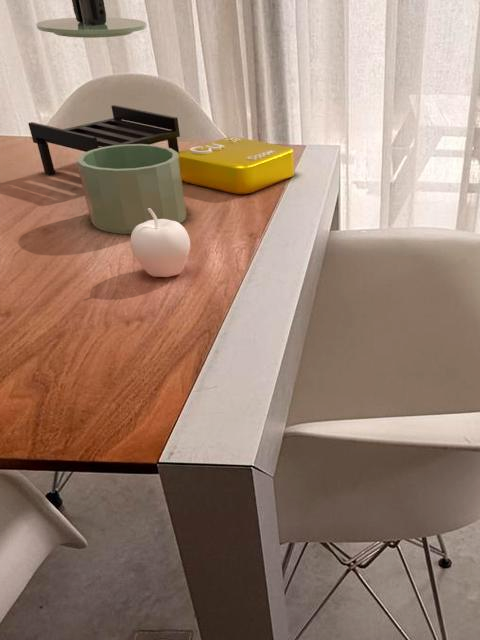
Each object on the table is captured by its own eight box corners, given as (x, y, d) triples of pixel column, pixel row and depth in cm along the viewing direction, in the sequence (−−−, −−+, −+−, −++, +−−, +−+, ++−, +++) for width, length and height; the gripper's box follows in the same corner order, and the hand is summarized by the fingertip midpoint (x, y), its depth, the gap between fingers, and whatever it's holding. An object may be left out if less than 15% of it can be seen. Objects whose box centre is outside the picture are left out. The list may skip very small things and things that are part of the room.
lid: (84, 42, 89) (73, -10, 85) (15, 32, 95) (3, -18, 92) (169, 32, 99) (162, -16, 95) (101, 23, 105) (93, -22, 101)
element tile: (244, 196, 110) (242, 165, 107) (175, 180, 116) (171, 150, 113) (299, 174, 120) (298, 145, 117) (233, 161, 126) (230, 132, 122)
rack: (103, 191, 110) (92, 137, 105) (41, 174, 117) (27, 122, 112) (184, 167, 122) (177, 117, 117) (123, 152, 129) (114, 104, 124)
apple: (126, 270, 86) (113, 205, 81) (177, 257, 90) (167, 194, 85) (152, 288, 82) (139, 221, 77) (204, 274, 86) (195, 209, 81)
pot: (136, 241, 94) (123, 176, 89) (72, 220, 100) (56, 158, 94) (205, 214, 103) (197, 154, 97) (143, 197, 109) (132, 139, 103)
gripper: (-1, -145, 86) (38, 20, 97) (70, -147, 80) (102, 30, 91) (50, -141, 91) (82, 16, 102) (121, -142, 85) (146, 25, 96)
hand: (91, 22), depth 96 cm, fingers closed on lid, 2 cm apart
